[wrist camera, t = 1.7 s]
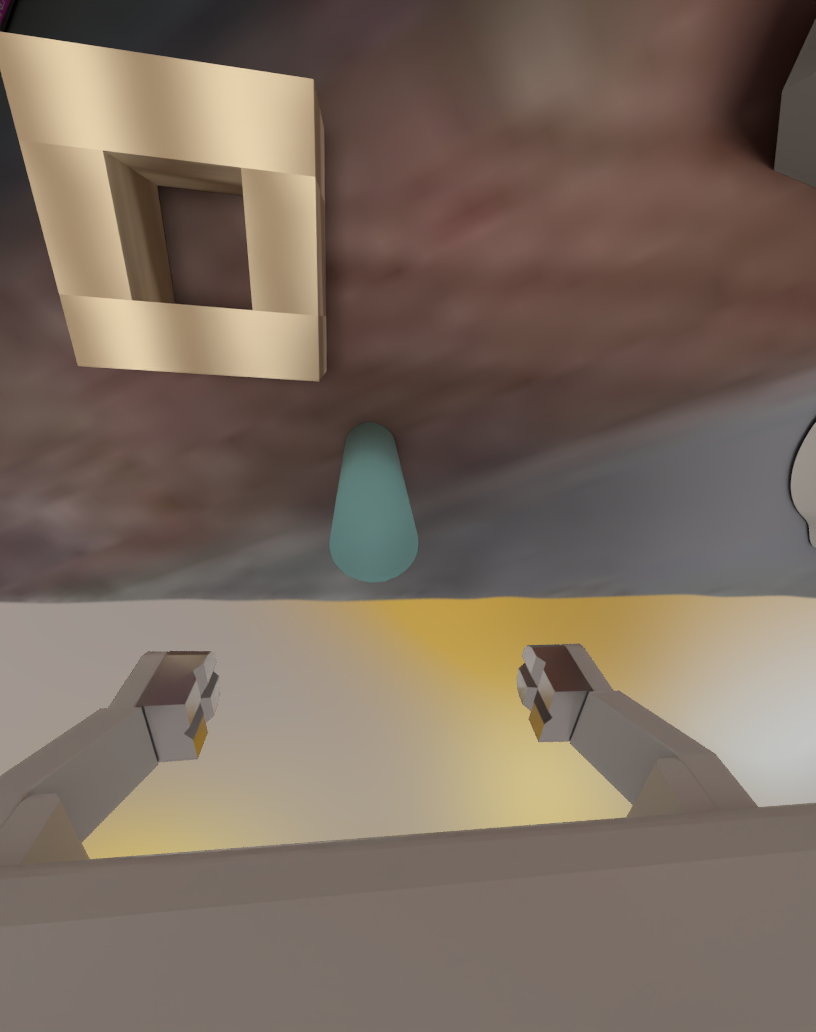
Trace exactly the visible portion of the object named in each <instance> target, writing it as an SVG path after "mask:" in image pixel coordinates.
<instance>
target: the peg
mask: <svg viewBox="0 0 816 1032" xmlns="http://www.w3.org/2000/svg"><path fill="white" fill-rule="evenodd" d="M329 545H330V552H331V556H332V558H333V560H334V562H335V564H336V565H337V566H338V568H339V569H340V570H341V571H342V572H344V573H345V574H346V575H348V576H350V577H352V578H354V579H356V580H360V581H364V582H382V581H387V580H390V579H393V578H395V577H397V576H399V575H400V574H402V573H403V572H404V571H405V570H407V569H408V568H409V566H410V565H411V564H412V562H413V561H414V559H415V557H416V554H417V551H418V535H417V531H416V527H415V523H414V519H413V514H412V510H411V506H410V502H409V498H408V494H407V490H406V486H405V482H404V477H403V473H402V469H401V465H400V461H399V457H398V453H397V449H396V445H395V441H394V438H393V436H392V434H391V432H390V431H389V430H388V429H387V428H386V427H384V426H383V425H381V424H378V423H375V422H365V423H361V424H359V425H357V426H355V427H354V428H353V429H352V430H351V431H350V432H349V434H348V436H347V438H346V441H345V447H344V453H343V459H342V466H341V472H340V478H339V485H338V491H337V497H336V504H335V510H334V516H333V523H332V529H331V535H330V544H329Z"/></svg>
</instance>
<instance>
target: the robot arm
mask: <svg viewBox="0 0 816 1032" xmlns="http://www.w3.org/2000/svg"><path fill="white" fill-rule="evenodd" d="M791 494H792V499H793V502H794V505H795V507H796V508H797V510H798V511H799V513H800V514H801V515H802V516H803V517H804V518H805V520H806V521H807V523H808V525H809V536H810V542H811V544H812V546H813V547H815V548H816V422H815V424H814V425H813V427H812V428H811V430H810V431H809V433H808V434H807V436H806V438H805V440H804V442H803V443H802V445H801V448H800V450H799V452H798V454H797V457H796V460H795V463H794V467H793V471H792V476H791ZM522 657H523V659H524V661H525V663H524V664H523V665H522V666H521V667H520V668H519V670H518V675H517V689H518V693H519V696H520V699H521V702H522V704H523V705H524V706H525V707H527V708H528V709H529V710H530V711H531V713H530V716H529V721H530V723H531V725H532V728H533V730H534V732H535V735H536V737H537V739H538V742H564V741H570V744H571V745H572V746H573V747H574V748H575V749H576V750H577V751H578V752H579V753H580V754H581V755H582V756H583V757H584V758H586V760H588V762H590V763H591V764H592V765H593V766H594V767H595V768H596V769H597V770H598V771H599V772H600V773H601V774H602V775H603V776H604V777H605V778H606V779H607V780H608V781H609V782H610V783H611V784H612V785H613V786H614V787H615V788H616V789H617V790H618V791H619V792H620V793H621V794H622V795H623V796H624V797H625V798H626V799H627V800H628V801H629V802H631V804H632V805H633V806H632V808H631V810H630V812H629V813H628V815H627V817H626V818H615V819H603V820H589V821H576V822H563V823H551V824H538V825H525V826H512V827H500V828H486V829H474V830H461V831H449V832H436V833H424V834H410V835H397V836H385V837H373V838H358V839H346V840H333V841H320V842H308V843H295V844H282V845H269V846H257V847H243V848H230V849H218V850H205V851H192V852H179V853H167V854H154V855H140V856H127V857H115V858H102V859H89V857H88V855H87V853H86V851H85V849H84V847H83V845H82V842H83V841H84V840H85V839H86V837H88V836H89V834H90V833H92V831H93V830H94V829H95V828H96V827H97V826H98V825H99V824H100V823H101V822H102V821H103V820H104V819H105V818H106V817H107V816H108V815H109V814H110V813H111V812H112V811H113V810H114V809H115V808H116V807H117V806H118V805H119V804H120V803H121V802H122V801H123V800H124V799H125V798H126V797H127V796H128V795H129V794H130V793H131V792H132V791H133V790H134V789H135V788H136V787H137V786H138V785H139V784H140V783H141V782H142V781H143V780H144V779H145V777H147V776H148V775H149V773H150V772H151V771H152V770H153V769H154V768H155V767H156V766H157V765H158V762H168V761H181V760H193V759H198V757H199V754H200V752H201V749H202V746H203V744H204V741H205V738H206V736H207V733H208V732H207V726H206V722H207V721H209V720H210V719H211V718H212V717H213V716H214V714H215V711H216V708H217V706H218V701H219V695H220V680H219V676H218V675H217V674H216V673H215V672H214V671H213V670H214V668H215V665H216V658H215V653H213V652H211V651H210V652H209V651H203V652H202V651H200V652H199V651H170V652H147V653H145V654H144V655H143V656H142V657H141V658H140V660H139V661H138V663H137V664H136V666H135V668H134V669H133V671H132V672H131V674H130V675H129V677H128V678H127V680H126V681H125V683H124V684H123V686H122V687H121V689H120V690H119V692H118V693H117V695H116V696H115V698H114V699H113V701H112V703H111V704H110V706H109V707H108V708H104V709H99V710H98V711H96V712H95V713H93V714H92V715H90V716H89V717H87V718H86V719H85V720H83V721H81V722H80V723H78V724H77V725H76V726H74V727H72V728H71V729H70V730H68V731H67V732H65V733H64V734H62V735H61V736H59V737H58V738H56V739H55V740H53V741H52V742H50V743H49V744H47V745H46V746H44V747H43V748H41V749H40V750H38V751H37V752H35V753H34V754H32V755H31V756H29V757H28V758H26V759H25V760H23V761H22V762H20V763H19V764H17V765H16V766H14V767H13V768H11V769H10V770H8V771H7V772H5V773H4V774H2V775H1V776H0V1032H816V803H807V804H795V805H782V806H769V807H758V806H757V805H756V803H755V802H754V801H753V800H752V799H751V797H750V796H749V795H748V794H747V792H746V791H745V790H744V789H743V788H742V786H741V785H740V784H739V783H738V781H737V780H736V779H735V778H734V776H733V775H732V774H731V773H730V771H729V770H728V769H727V768H726V767H725V765H724V764H723V763H722V762H721V760H720V759H719V758H718V757H717V756H716V754H714V753H713V752H711V751H710V750H708V749H707V748H705V747H704V746H702V745H701V744H699V743H698V742H696V741H695V740H693V739H692V738H690V737H689V736H687V735H686V734H684V733H682V732H681V731H680V730H678V729H677V728H675V727H673V726H672V725H670V724H669V723H667V722H666V721H664V720H663V719H661V718H660V717H658V716H657V715H655V714H654V713H652V712H651V711H649V710H648V709H646V708H644V707H643V706H642V705H640V704H638V703H637V702H635V701H634V700H632V699H631V698H629V697H628V696H626V695H625V694H623V693H622V692H620V691H614V690H613V689H612V688H611V686H610V685H609V683H608V682H607V680H606V679H605V677H604V676H603V674H602V673H601V672H600V670H599V669H598V667H597V666H596V664H595V663H594V661H593V660H592V658H591V657H590V656H589V654H588V653H587V651H586V650H585V648H584V647H583V646H582V645H580V644H562V645H559V644H558V645H527V646H526V647H525V648H524V651H523V654H522Z"/></svg>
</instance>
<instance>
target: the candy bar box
mask: <svg viewBox="0 0 816 1032" xmlns="http://www.w3.org/2000/svg"><path fill="white" fill-rule="evenodd" d="M14 1H15V0H0V32H4V29H5V27H6V24H7V21H8V19H9V16H10V13H11V10H12V7H13V4H14Z"/></svg>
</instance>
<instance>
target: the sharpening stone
mask: <svg viewBox="0 0 816 1032" xmlns="http://www.w3.org/2000/svg"><path fill="white" fill-rule="evenodd" d="M774 171H775V172H778V173H780V174H783V175H785V176H788V177H790V178H793V179H795V180H798V181H800V182H803V183H805V184H808V185H810V186H813V187H815V188H816V19H815V21H814V23H813V25H812V27H811V30H810V32H809V34H808V36H807V38H806V40H805V43H804V45H803V47H802V49H801V51H800V54H799V56H798V58H797V60H796V62H795V64H794V67H793V69H792V71H791V73H790V75H789V77H788V80H787V82H786V84H785V86H784V88H783V90H782V98H781V108H780V117H779V127H778V137H777V146H776V156H775V166H774Z"/></svg>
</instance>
